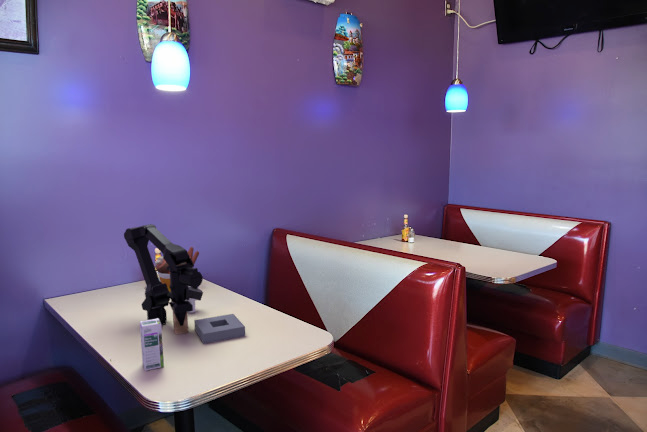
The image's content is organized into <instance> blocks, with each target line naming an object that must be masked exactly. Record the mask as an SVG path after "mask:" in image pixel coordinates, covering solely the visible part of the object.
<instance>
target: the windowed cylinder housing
mask: <svg viewBox="0 0 647 432" xmlns="http://www.w3.org/2000/svg"><path fill="white" fill-rule="evenodd" d="M188 287H191V286H188ZM198 289H200V286H198ZM185 301H189V302H190V303H191V304H192V305H193V311H189V312H188V313H189V314H192V313H195V312H196V311H197V309H196V301H198V300H197V299H192V298H189V300H185Z"/></svg>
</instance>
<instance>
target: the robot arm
mask: <svg viewBox="0 0 647 432" xmlns="http://www.w3.org/2000/svg"><path fill="white" fill-rule="evenodd" d="M123 237H124V239H125V242H126V244H127V245H128V247H129V248H130V249H132V250H133V251H134V253H135V255H136V258H137V263H138V264H139V268H140V270H141V273H142V277H143V279H144V282H145V290H144V296H145V299H144V300H143V302H142V303H141V308H142V310H143V311H146V317H147V319H146V320H152V319H156V318H158V319H159V320H160V322H161V326H162V325H166V324H167V318H168V317H167V316H168V315H167V309H165V307H169V306H170V308H171V310H172V312H173V311H174V314H175V316H176V318H177V320H178V322H179V324H180V326H183V325H184V320H185V316H186V313H187V314H188V313H189V311H193V305H192V304H191V303H190V302H189V301H185V300H189V298H192V299H197V300H196V301H202V297H203V294H204V291H203V290H202V289H200V288H199V289H198V286H199V287H200V286H201V285H202V283H203V278H204V277H203V275H202V273H201V272H200V271H199V270H198V268H197V267H195V264H193V261H192V260H191V258H190V256H189V254H188V251H187V249H186V248H184V247H182V246H181V245H179V244H175V243H173V242H172V241H171V240H170V239H169V238H167V237H166V236H165V235H164V234H163V233H162V232H161V231H160V230H158V229H157V226H156V225H155V224H152V223H151V224H145V225H141V226H134V227H129V228H126V229H125V231H124V233H123ZM149 242H150V243H151V244H153V246H154V247H155V248H157V249H158V250H159V251H160V253H162V256H163V259H164V260H165V261H166V263H167V264H168V265H169V266H168V267H167V268H166V270H169V271H170V289H171V292H169V290H168V288H167V284H166V283H164V284H163V283H161V281H160V278H159V275H158V272H157V270H156V266H155V264H154V262H153V258H152V256H151V253H150V251H149V247H148V245H149ZM184 263H187V264H184ZM180 264H183V265H180ZM177 265H179V266H177ZM192 267H193V268H192ZM188 286H191V287H188ZM172 307H173V308H172Z"/></svg>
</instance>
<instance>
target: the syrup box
mask: <svg viewBox="0 0 647 432" xmlns="http://www.w3.org/2000/svg"><path fill="white" fill-rule="evenodd" d="M162 330H163V329H162V325H161V322H160V320H159V319H158V318H156V319H152V320H147V319H146V320H141V321H139V331H140V332H139V333H140V343H141V344H140V345H141V358H142V365H143V369H144V371H145V372H147V371H150V370H155V369H160V368H164V367H165V364H164V350H163V349H164V348H163V346H164V344H163V333H162V332H163V331H162Z"/></svg>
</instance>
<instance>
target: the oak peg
mask: <svg viewBox="0 0 647 432" xmlns="http://www.w3.org/2000/svg"><path fill="white" fill-rule="evenodd" d="M172 308H173V307H172ZM172 308H171V309H172ZM188 317H189V315H188V312H187V313H186V316H185V320H184V325H183V326H180V324H179V322H178V320H177V318H176V316H175V314H174V311H173V310H172V322H173V332H174V333H175V335H181V334H184V333H189V318H188Z"/></svg>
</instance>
